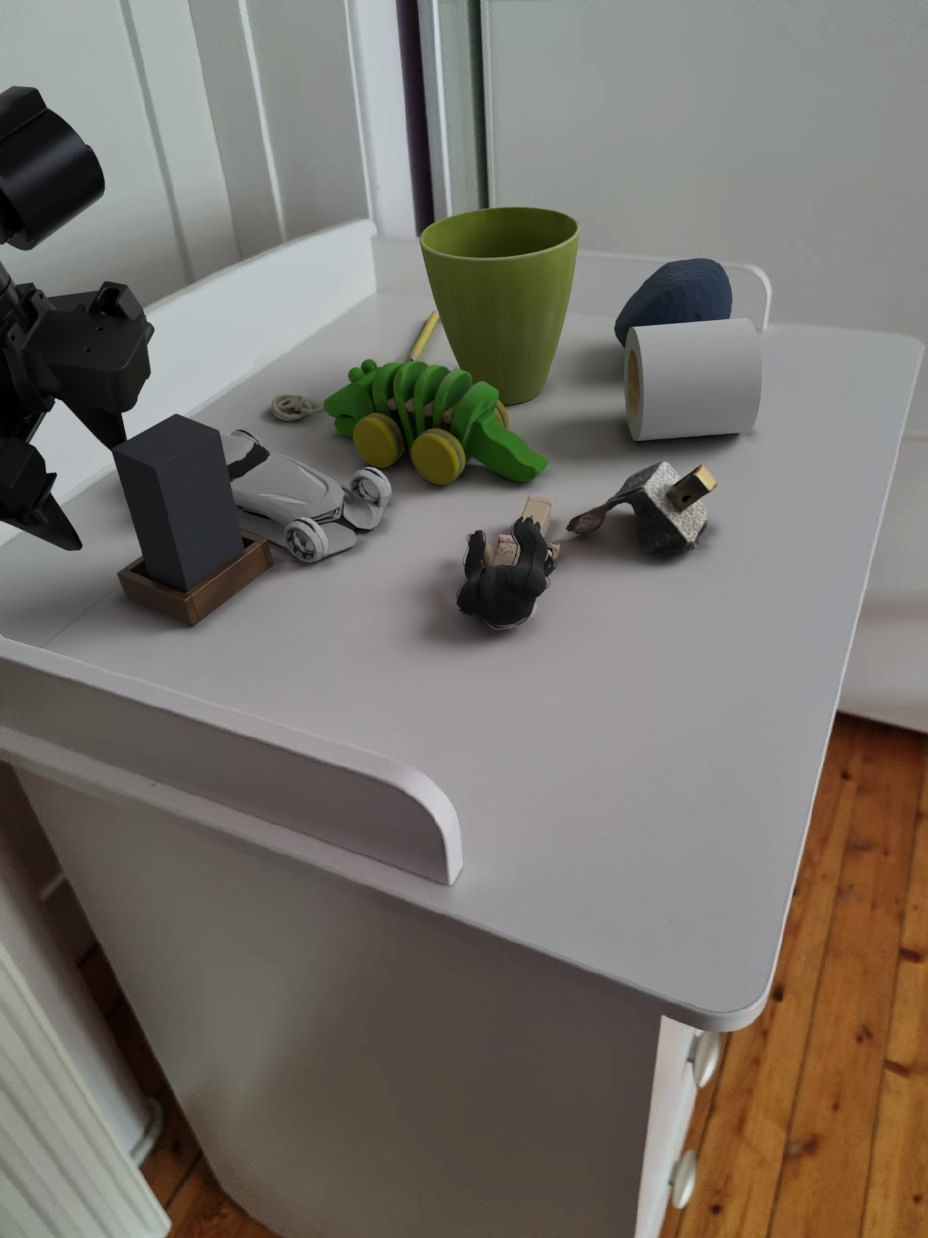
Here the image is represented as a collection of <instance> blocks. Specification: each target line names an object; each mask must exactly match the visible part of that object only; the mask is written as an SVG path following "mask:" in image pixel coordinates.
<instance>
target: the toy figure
mask: <svg viewBox="0 0 928 1238" xmlns="http://www.w3.org/2000/svg"><path fill="white" fill-rule="evenodd" d="M551 509H552V498H550V497H541V496H533V495H532V496H531V495H529V496H527V501H526V503H525V505H524V508H523V510H522V512H521V514H520V517H519V518H517V519H515V521H513V522H512V524H511V525H510V534H502V533H499V534H497V541H496V551H495V554H494V552H493V549H492V547H491V544H489V543H488V542H487V537H486V533H485V532H484V531H483V530H482V529H477V530H475V531H474V532H473V531H470V532H469V533H468V535H465V536H466V540H467V547H466V550H465V553H464V555H463V558H462V565H463V571H464V575H465V577H464V579H463V580H462V582H461V583H460V585H459V586H458V588H457V592H456V596H455V597H456V602H455V603H456V606H457V607H458V608H459V613H460V614H461V615H468V616H476V617H477V618H478V619H479V620H481V621H482V622H483V621H484V622H485V623H486V624H487V626H489V627H490V628H491V629H494V630H499V631H502V630H507V629H508V630H509V629H514V628H516V627H519V626H522V625H524V624H526V623H527V622H529V621H531V620H532V619H533V618H534V617H535V616H536V614H537V612H538V603H537V602H536V601H537V598H539V597H541V595H542V594H543V593H544V592H545V591H546V590H547V589H548V588H549V587H550V585H551V581H550V578H549V576H550V575H551V574H552V573H553V571H554V570H556V569H557V568H558V563H557V561H556V559H557V558H558V556H559V554H560V553H559V552H560V549H561V544H560V543H558V542H557V543H555V544H554V543H551V542H548V543H547V542H546V540H545V537H546V535H547V533H548V530H549V527H550V517H551V511H552V510H551ZM466 553H467V554H466ZM465 556H466V557H465ZM553 560H554V561H553ZM555 565H556V566H555ZM479 577H480V578H479ZM547 580H548V581H547ZM461 585H462V586H461Z"/></svg>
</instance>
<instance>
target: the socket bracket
mask: <svg viewBox="0 0 928 1238" xmlns="http://www.w3.org/2000/svg"><path fill="white" fill-rule="evenodd" d="M240 531H241V536H242V541H243V545H244V550H243V551H242V552H240V553H239V554H237V555H236V556H235V557H233V558H232V559H231V560H229V561H228V562H227V563H225V564H224V565H223V566H221V567H220V568H219V569H217V570H216V571H214V572H213V573H212V574H210V575H209V576H208V577H206V578H205V579H204V580H202V581H201V582H200V583H198V584H197V585H196V586H194V587H193V588H191V589H190V590H189V591H187V592H186V593H185V594H184V593H182V592H179V591H177V590H175V589H172V588H170V587H167V586H165V585H162V584H160V583H157V582H155V581H153V580H150V578H149V575H148V571H147V568H146V565H145V561H144V558H143V555H142V554H141V555H140V556H139V557H138V558H136V559H135V560H133V561H132V562H130V563H129V564H128V565H126V566H125V567H123V568H121V569H119V571H117V572H116V575H117V578H118V580H119V582H120V585H121V588H122V591H123V594H124V596H125V598H126V599H127V600H130V601H132V602H134V603H137V604H138V605H141V606H144V607H146V608H148V609H151V610H153V611H154V612H157V613H160V614H162V615H164V616H166V617H169V618H172V619H174V620H176V621H178V622H181V623H183V624H185V625H188V626H190V627H192V628H193V627H195V626H196V625H198V623H199V622H202V621H203V620H204V619H206V617H208V616H209V615H210V614H211V613H213V612H214V611H215V610H217V609H218V608H219V607H221V606H222V605H223V604H225V603H226V602H227V601H229V600H230V599H231V598H232V597H234V596H235V595H236V594H238V593H239V592H240V591H242V590H243V589H244V588H245V587H246V586H248V585H249V584H250V583H252V582H253V581H254V580H255V579H257V578H258V577H259V576H261V575H262V574H263V573H265V572H266V571H267V570H268V569H270V568H271V567H273V565H274V561H273V556H272V552H271V548H270V544H269V540H268V539H266V538H263V537H260V536H257V535H254V534H252V533H249V532H246V531H243V530H240Z"/></svg>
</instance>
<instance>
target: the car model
mask: <svg viewBox="0 0 928 1238" xmlns="http://www.w3.org/2000/svg"><path fill="white" fill-rule="evenodd" d="M220 436H221V440H222V445H223V450H224V455H225V459H226V464H227V469H228V474H229V479H230V483H231V488H232V493H233V498H234V502H235V507H236V512H237V517H238V522H239V526H240V530H243V531H246V532H249V533H252V534H254V535H257V536H260V537H263V538H266V539H268V541H270V542H273V543H274V544H277V545H278V546H280V547H282V548H284V549H286V550H287V551H288V552H290V553H291V555H293V556H294V557H296V559H298V560H299V561H301V562H304V563H305V562H306V563H315V562H317V561H320V560H321V559H324V558H326V557H329V556H331V555H334V554H337V553H339V552H342V551H345V550H347V549H350V548H351V547H354V546H355V545H356V543H357V542H358V541H359V539H358V537H357V535H356V533H355V532H354V531H360V532H361V531H362V532H366V531H368V532H370V531H372V530H374V529H375V528H377V527H378V526H379V524H380V521H381V519H382V516H383V514H384V511H385V508H386V507H387V505H388V503H389V501H390V499H391V497H392V492H393V491H392V486H391V483H390V481H389V479H388V477H387V476H386V475H385V474H384V473H383V472H382V471H381V470H379V468H377V467H373V466H366V467H362V468H360V469H358V470H357V471H355V472H354V473H353V474H352V477H351V480H350V482H349V486H350V489H349V488H348V487H346V486H345V485H343V484H341V483H339V482H338V481H336V480H335V479H333V478H332V477H329V476H328V475H325V474H324V473H323V472H321V471H319V470H317V469H315V468H313V467H311V466H310V465H307V464H305V463H303V462H300V461H298V460H296V459H294V458H291V457H289V456H286V455H284V454H281V453H278V452H276V451H273V450H270V449H267V448H266V447H265V445H264V443H263V441H262V440H261V438H260V437H259V436H258V435H257V433H255V432H254V431H252V430H251V429H248V428H240V429H235V431H232V432H231V433H230V434H222V433H220ZM364 480H366V481H369V482H370V483H371V484H372V485H373V486H374V487H375V489H376V490H377V495H378V497H374V496H373V495H372V494H370V492H368V491H367V489H366V488H365V485H364Z"/></svg>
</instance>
